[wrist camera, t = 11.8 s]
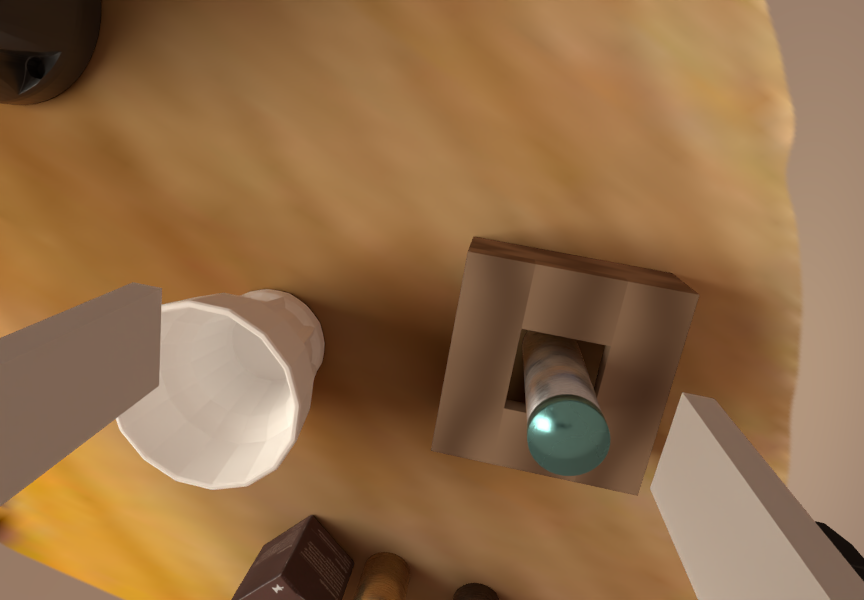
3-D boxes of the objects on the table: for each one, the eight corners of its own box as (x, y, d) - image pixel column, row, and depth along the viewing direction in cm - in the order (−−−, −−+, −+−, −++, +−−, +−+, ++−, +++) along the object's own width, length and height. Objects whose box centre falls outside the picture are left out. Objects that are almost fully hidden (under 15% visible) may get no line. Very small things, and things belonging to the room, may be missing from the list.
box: (262, 543, 50) (222, 607, 43) (313, 511, 49) (280, 573, 42) (306, 592, 51) (273, 664, 44) (357, 563, 50) (332, 632, 43)
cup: (353, 416, 46) (306, 498, 35) (207, 408, 47) (120, 484, 37) (346, 264, 43) (293, 304, 32) (190, 261, 44) (89, 297, 34)
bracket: (440, 411, 45) (430, 450, 39) (473, 236, 41) (467, 251, 35) (620, 449, 44) (637, 495, 38) (671, 273, 40) (699, 294, 34)
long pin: (516, 366, 43) (519, 466, 30) (527, 315, 42) (536, 394, 28) (571, 377, 43) (599, 483, 29) (583, 325, 41) (619, 411, 28)
